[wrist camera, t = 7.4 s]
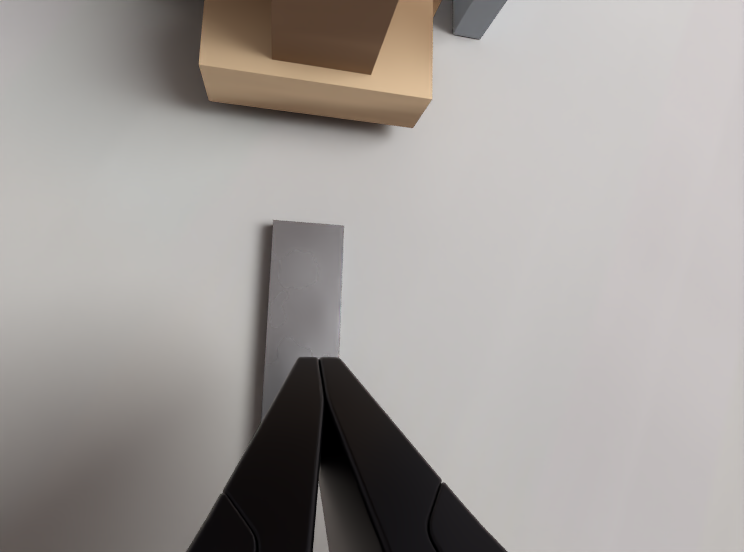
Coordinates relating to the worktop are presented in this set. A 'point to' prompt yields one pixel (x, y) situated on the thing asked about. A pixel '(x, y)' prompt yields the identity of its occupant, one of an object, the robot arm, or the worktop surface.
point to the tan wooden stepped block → (321, 57)
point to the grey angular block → (474, 16)
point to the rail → (302, 299)
